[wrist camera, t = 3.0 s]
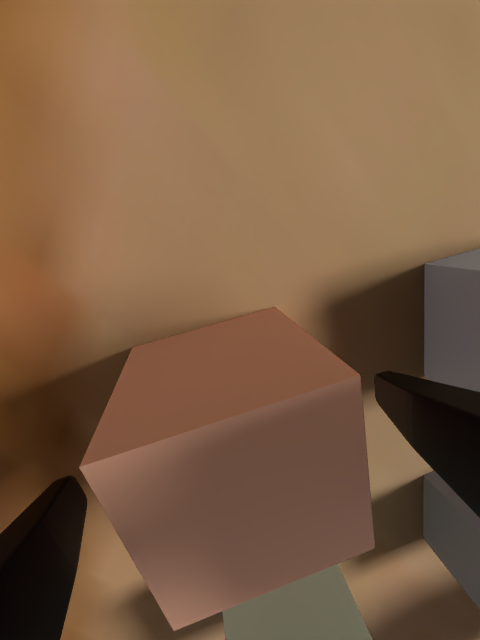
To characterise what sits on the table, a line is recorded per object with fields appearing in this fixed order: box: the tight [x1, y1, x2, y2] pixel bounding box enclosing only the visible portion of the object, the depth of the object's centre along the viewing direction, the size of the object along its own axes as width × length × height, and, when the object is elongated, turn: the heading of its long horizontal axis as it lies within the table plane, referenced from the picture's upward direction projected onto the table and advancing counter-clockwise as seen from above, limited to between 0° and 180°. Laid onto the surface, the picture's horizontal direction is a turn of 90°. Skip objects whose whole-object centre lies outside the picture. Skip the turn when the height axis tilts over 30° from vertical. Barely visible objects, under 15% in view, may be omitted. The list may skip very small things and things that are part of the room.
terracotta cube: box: [79, 307, 375, 631], centre depth 8 cm, size 5×5×5 cm
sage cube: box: [222, 564, 373, 640], centre depth 12 cm, size 5×5×5 cm
